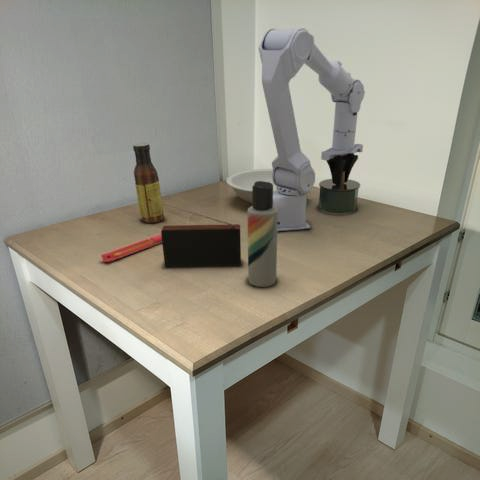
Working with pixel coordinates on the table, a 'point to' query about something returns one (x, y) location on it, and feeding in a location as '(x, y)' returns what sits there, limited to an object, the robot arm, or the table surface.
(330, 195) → the pot
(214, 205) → the table surface
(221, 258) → the radio
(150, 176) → the sauce bottle
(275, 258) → the lotion bottle
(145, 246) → the long red bar
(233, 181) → the soup bowl
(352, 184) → the lid
